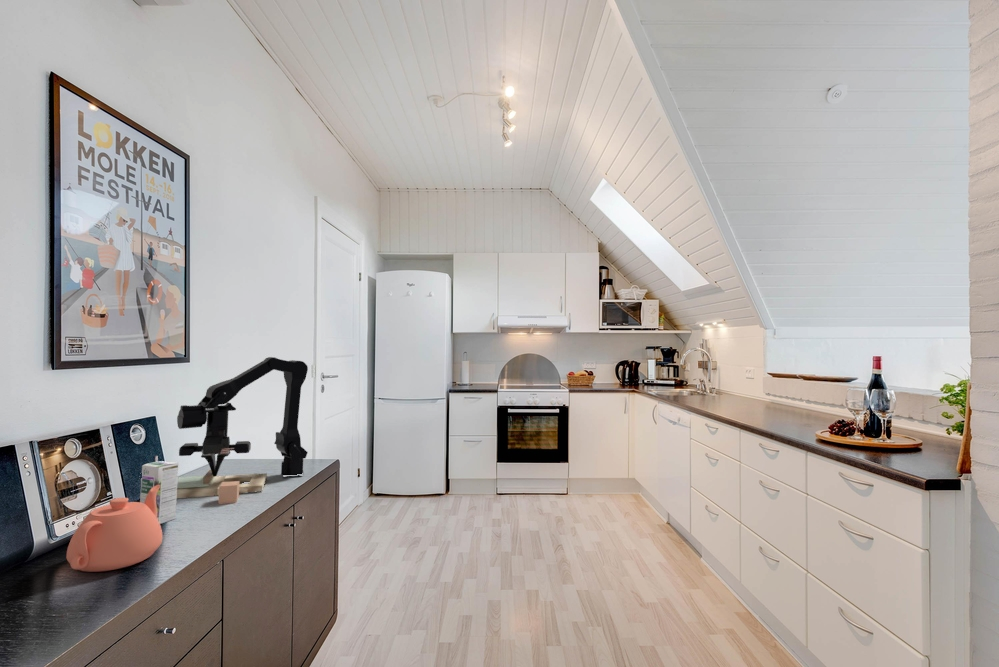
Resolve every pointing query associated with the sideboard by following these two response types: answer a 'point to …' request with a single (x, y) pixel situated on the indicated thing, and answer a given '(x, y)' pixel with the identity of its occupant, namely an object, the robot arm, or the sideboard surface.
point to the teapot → (116, 535)
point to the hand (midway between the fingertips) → (214, 476)
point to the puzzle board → (213, 488)
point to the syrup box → (161, 487)
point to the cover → (195, 481)
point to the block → (228, 492)
